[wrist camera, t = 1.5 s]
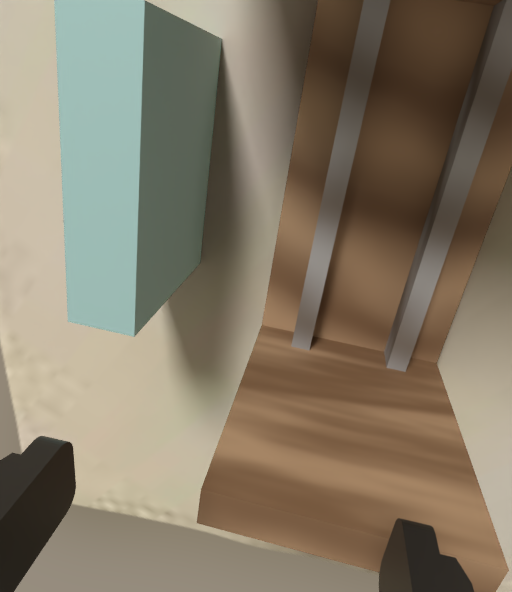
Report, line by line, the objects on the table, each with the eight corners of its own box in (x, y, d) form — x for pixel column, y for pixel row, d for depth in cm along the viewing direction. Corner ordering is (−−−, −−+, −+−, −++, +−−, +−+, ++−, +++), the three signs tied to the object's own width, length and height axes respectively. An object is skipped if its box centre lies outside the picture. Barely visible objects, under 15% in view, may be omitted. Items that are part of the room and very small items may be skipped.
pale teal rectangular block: (164, 30, 26) (53, -13, 16) (222, 39, 26) (144, 0, 16) (154, 253, 32) (68, 321, 22) (200, 262, 32) (134, 336, 22)
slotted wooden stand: (330, -57, 23) (306, -325, 8) (573, -27, 22) (1030, -281, 7) (261, 339, 33) (196, 522, 19) (423, 374, 32) (489, 602, 17)
